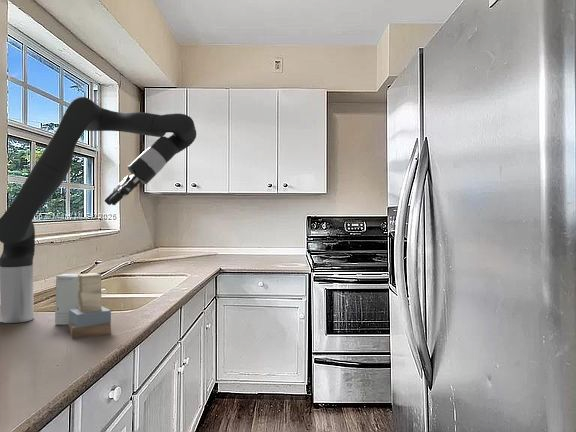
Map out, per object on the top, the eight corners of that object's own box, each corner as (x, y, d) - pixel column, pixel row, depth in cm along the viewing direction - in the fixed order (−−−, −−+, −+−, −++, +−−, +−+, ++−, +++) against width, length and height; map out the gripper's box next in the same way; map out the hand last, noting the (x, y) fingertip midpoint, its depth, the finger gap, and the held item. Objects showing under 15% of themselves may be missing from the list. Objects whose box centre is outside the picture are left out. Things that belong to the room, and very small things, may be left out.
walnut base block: (68, 332, 147) (68, 320, 147) (105, 328, 152) (105, 316, 151) (72, 340, 138) (72, 328, 138) (110, 336, 143) (110, 323, 143)
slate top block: (68, 321, 146) (68, 309, 145) (100, 317, 151) (100, 305, 151) (77, 327, 138) (77, 314, 138) (110, 322, 144) (110, 310, 144)
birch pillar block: (78, 309, 145) (77, 274, 145) (96, 307, 148) (95, 272, 148) (83, 312, 141) (82, 276, 141) (101, 310, 144) (100, 274, 144)
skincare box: (54, 325, 153) (53, 276, 153) (62, 320, 159) (61, 273, 159) (82, 324, 154) (82, 275, 153) (89, 320, 160) (89, 273, 159)
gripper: (133, 158, 161) (96, 194, 156) (143, 154, 149) (102, 193, 144) (151, 175, 164) (114, 211, 159) (161, 173, 151) (122, 212, 146)
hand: (108, 203), depth 151 cm, fingers open, 8 cm apart
